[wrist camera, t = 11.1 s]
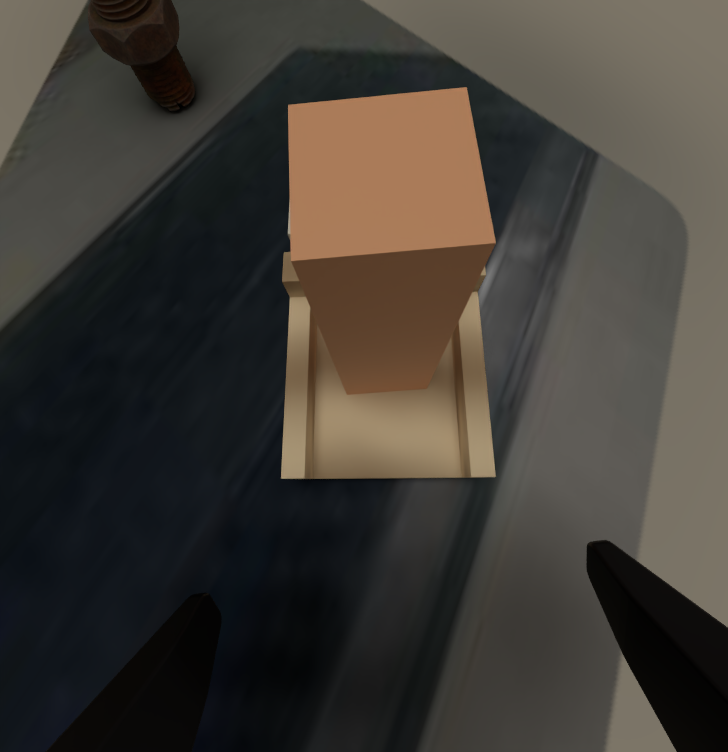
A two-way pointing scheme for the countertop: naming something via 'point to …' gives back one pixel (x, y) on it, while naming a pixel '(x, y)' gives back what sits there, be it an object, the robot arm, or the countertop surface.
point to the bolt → (145, 45)
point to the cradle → (384, 409)
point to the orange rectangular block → (387, 229)
